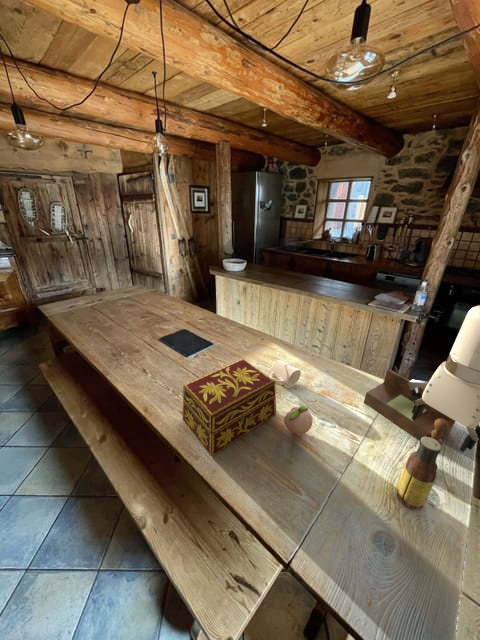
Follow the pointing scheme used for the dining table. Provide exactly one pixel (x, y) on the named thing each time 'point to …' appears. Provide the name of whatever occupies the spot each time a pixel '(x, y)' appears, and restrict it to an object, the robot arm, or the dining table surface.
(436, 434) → the mortar and pestle
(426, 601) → the dining table surface
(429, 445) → the sauce bottle
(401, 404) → the shelf
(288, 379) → the mug
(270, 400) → the decorative box
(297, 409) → the decorative fruit
